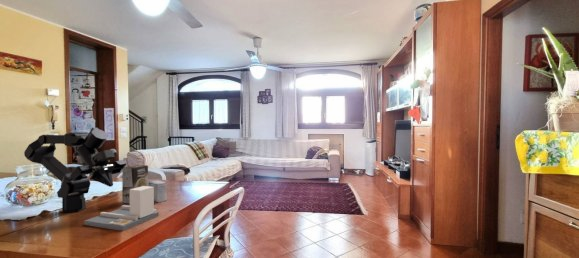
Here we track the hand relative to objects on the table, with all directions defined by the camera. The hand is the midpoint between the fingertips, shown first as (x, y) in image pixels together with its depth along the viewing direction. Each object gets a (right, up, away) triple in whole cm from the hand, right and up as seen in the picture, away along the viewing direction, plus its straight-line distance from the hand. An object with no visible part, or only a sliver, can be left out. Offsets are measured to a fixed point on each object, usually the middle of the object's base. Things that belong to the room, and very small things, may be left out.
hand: (111, 185), depth 100 cm
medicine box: (+7, -12, +21) cm, 25 cm away
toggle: (+14, -10, -4) cm, 18 cm away
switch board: (+8, -12, -5) cm, 15 cm away
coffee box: (-3, -12, +20) cm, 24 cm away
